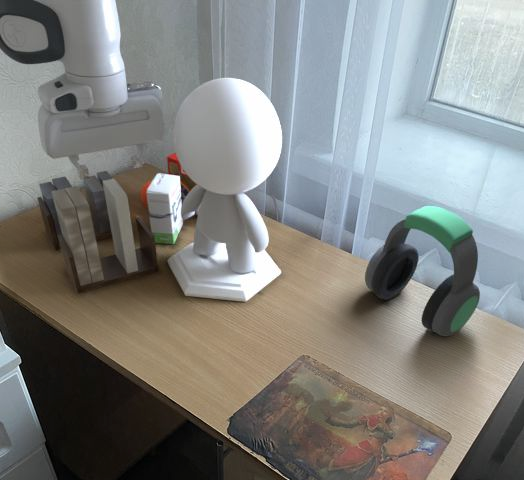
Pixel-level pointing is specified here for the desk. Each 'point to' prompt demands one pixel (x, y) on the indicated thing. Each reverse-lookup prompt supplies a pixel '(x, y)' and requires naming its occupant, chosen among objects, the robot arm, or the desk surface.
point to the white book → (120, 225)
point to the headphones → (406, 259)
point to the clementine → (143, 193)
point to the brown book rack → (95, 245)
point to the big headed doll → (225, 188)
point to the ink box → (165, 207)
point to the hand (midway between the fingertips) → (111, 172)
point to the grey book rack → (94, 200)
